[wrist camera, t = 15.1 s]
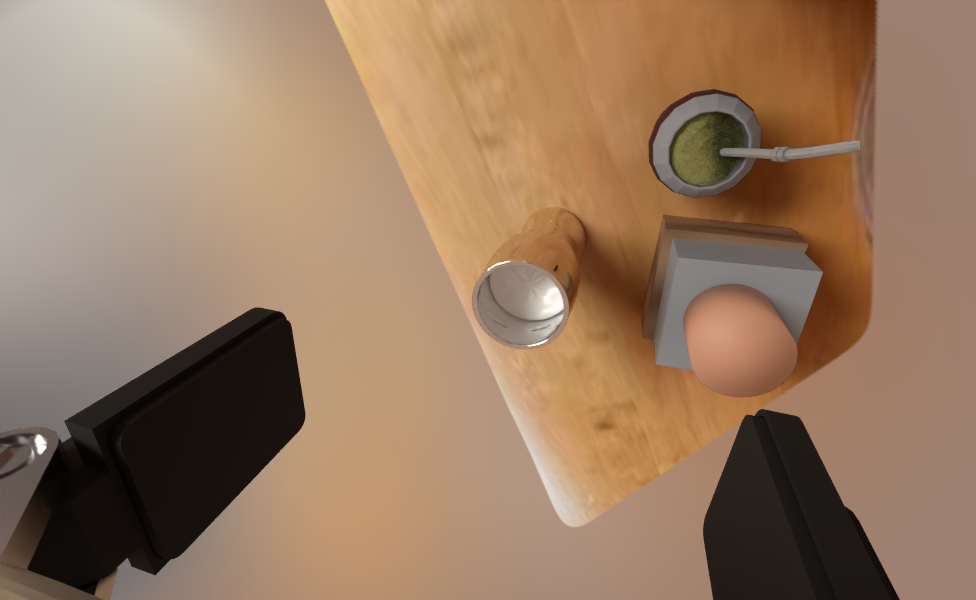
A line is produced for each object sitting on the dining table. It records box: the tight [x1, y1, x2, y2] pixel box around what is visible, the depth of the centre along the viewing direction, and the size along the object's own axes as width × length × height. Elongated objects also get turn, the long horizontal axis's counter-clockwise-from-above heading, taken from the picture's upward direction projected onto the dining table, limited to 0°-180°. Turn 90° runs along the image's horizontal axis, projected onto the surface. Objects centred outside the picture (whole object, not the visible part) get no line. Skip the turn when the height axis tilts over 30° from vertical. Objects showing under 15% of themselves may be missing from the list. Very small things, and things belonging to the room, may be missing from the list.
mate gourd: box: [649, 89, 860, 198], centre depth 30 cm, size 8×8×15 cm
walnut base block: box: [642, 215, 809, 339], centre depth 39 cm, size 10×10×4 cm
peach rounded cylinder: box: [683, 284, 798, 397], centre depth 31 cm, size 6×6×5 cm
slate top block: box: [654, 239, 823, 370], centre depth 35 cm, size 9×9×4 cm
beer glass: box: [472, 208, 585, 349], centre depth 37 cm, size 7×7×15 cm
